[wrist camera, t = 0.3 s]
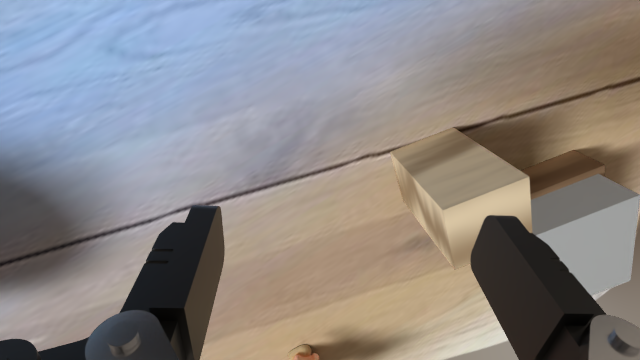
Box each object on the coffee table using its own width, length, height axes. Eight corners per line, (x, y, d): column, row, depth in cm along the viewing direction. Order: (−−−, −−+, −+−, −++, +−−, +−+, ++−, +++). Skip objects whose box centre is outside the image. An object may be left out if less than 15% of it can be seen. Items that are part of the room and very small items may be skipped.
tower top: (494, 214, 33) (524, 240, 29) (598, 173, 33) (640, 194, 29) (504, 289, 38) (530, 319, 34) (594, 253, 38) (630, 280, 34)
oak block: (390, 151, 32) (442, 210, 24) (453, 127, 32) (529, 176, 24) (403, 200, 35) (455, 269, 26) (461, 178, 35) (532, 239, 26)
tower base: (467, 188, 36) (490, 209, 33) (570, 148, 36) (605, 164, 33) (479, 267, 41) (500, 292, 38) (569, 231, 41) (599, 253, 38)
